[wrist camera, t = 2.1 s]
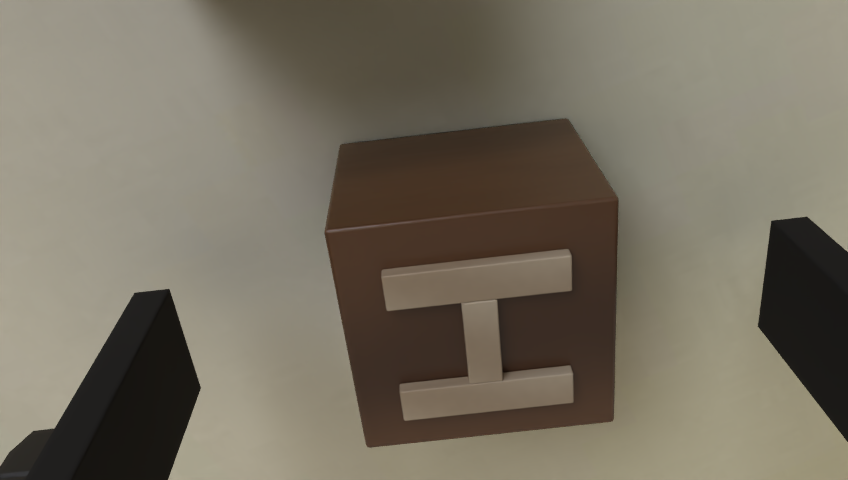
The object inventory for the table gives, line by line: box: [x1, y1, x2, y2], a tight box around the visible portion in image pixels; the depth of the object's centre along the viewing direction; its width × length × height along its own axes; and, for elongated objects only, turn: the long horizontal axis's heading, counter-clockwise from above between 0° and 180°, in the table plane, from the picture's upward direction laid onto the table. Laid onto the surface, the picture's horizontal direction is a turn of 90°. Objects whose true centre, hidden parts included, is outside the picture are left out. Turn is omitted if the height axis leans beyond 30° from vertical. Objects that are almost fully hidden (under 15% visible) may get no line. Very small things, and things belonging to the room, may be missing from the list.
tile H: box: [324, 119, 618, 447], centre depth 17 cm, size 6×6×5 cm
